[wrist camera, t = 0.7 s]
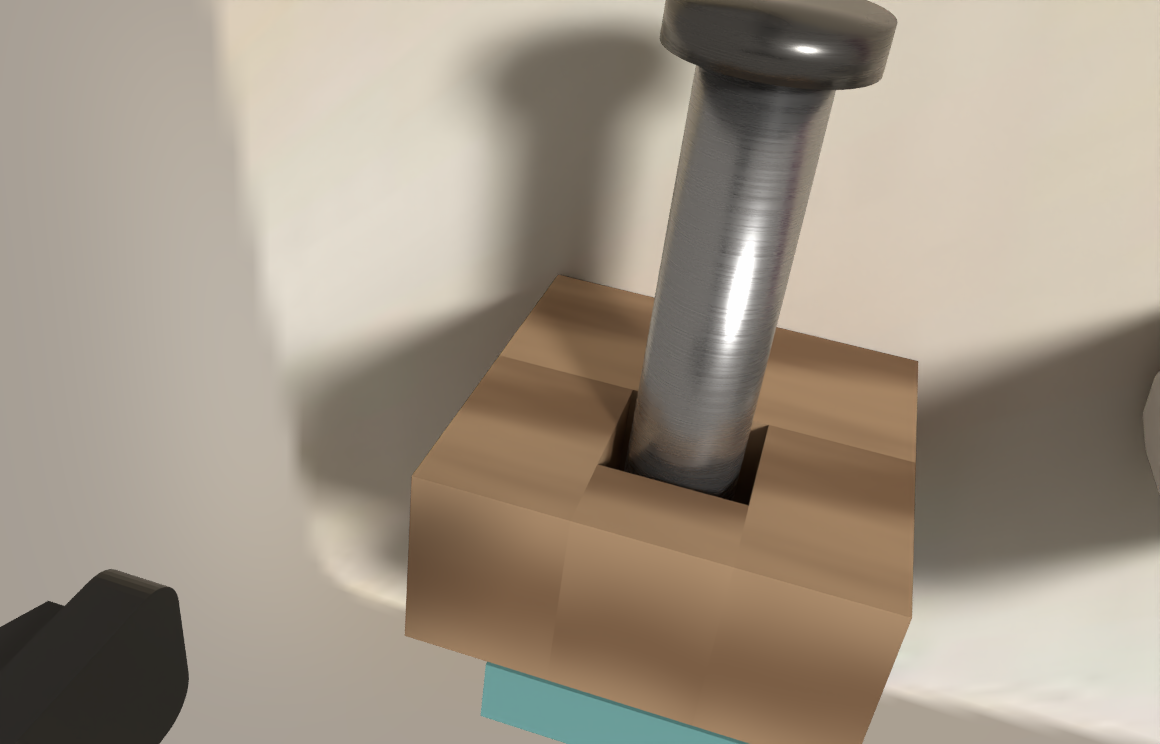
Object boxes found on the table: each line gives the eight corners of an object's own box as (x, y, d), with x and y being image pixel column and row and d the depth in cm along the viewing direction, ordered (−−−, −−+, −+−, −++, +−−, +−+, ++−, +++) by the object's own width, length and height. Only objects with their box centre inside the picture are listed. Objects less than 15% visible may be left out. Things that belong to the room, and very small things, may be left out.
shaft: (691, -38, 22) (644, 1, 19) (900, 0, 22) (893, 49, 18) (580, 630, 33) (536, 739, 29) (717, 672, 32) (690, 789, 29)
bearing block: (557, 274, 32) (411, 475, 23) (918, 361, 31) (911, 618, 21) (541, 407, 35) (404, 635, 26) (872, 495, 33) (849, 775, 24)
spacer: (567, 499, 34) (485, 664, 27) (797, 563, 32) (765, 752, 26) (560, 546, 35) (480, 715, 29) (782, 610, 33) (748, 802, 27)
